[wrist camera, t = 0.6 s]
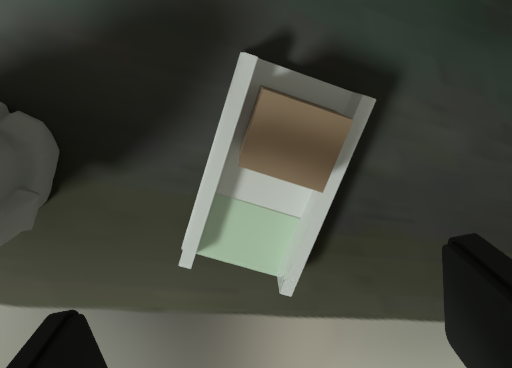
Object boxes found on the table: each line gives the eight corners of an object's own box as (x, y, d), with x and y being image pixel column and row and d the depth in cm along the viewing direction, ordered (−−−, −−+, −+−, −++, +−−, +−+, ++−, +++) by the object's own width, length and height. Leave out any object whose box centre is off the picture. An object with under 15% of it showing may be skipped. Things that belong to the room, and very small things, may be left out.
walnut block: (260, 84, 31) (263, 88, 25) (334, 110, 31) (353, 120, 26) (239, 148, 32) (238, 166, 27) (310, 171, 33) (322, 192, 28)
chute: (240, 52, 31) (239, 50, 27) (364, 96, 32) (379, 100, 29) (182, 244, 37) (175, 264, 33) (289, 274, 38) (293, 297, 35)
